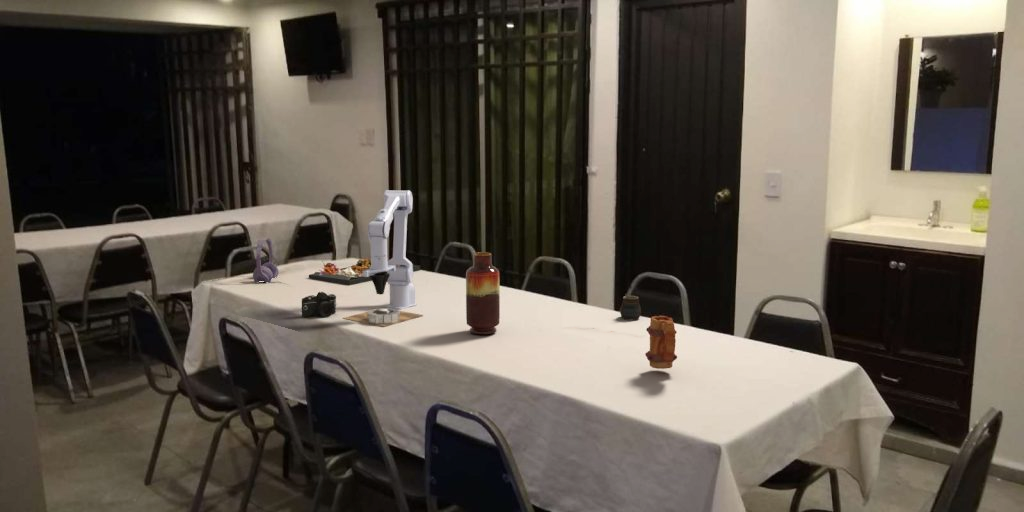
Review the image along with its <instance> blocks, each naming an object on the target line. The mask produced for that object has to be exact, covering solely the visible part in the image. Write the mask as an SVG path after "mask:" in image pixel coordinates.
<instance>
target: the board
mask: <svg viewBox="0 0 1024 512" xmlns="http://www.w3.org/2000/svg"><path fill="white" fill-rule="evenodd" d="M399 311H400V320H399V321H398V322H394V323H388V324H374V323H369V322H368V321H367V312H368V311H366V312H362V313H358V314H354V315H349V316H346V317H342V319H343V320H347V321H352V322H357V323H362V324H367V325H373V326H377V327H382V328H385V327H389V326H392V325H396V324H399V323H403V322H407V321H410V320H411V321H412V320H414V319H416V318H421V317H424V314H419V313H415V312H413V313H412V312H408V311H402V310H399Z"/></svg>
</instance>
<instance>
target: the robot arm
mask: <svg viewBox="0 0 1024 512" xmlns="http://www.w3.org/2000/svg"><path fill="white" fill-rule="evenodd" d="M382 200H383V201H382V202H383V205H384V206H383V207H382V208H381V209H379V210H378V212H377V214H376V216H375V217H374V220H372V221H370V222H369V223H368V225H367V229H366V232H367V236H368V242H369V243H370V244H369V245H370V246H369V247H370V259H371V267H370V269H367V270H364V271H363V276H364V277H369V276H370V278H371V280H372V281H371V282H372V283H373V286H374V288H375V292H376V295H384V292H385V289H386V285H389V304H386V305H384V307H385V308H392V309H397V310H403V309H407V308H411V307H416V306H417V305H418V304H417V303H416V289H415V286H414V284H413V283H412V281H413V279H414V272H413V265H414V264H413V263H412V261H410V260H409V259H408V258H407V256H406V255H407V254H406V252H407V231H408V227H407V226H408V217H409V216H408V215H409V214H411V213H412V212H413V200H414V198H413V193H412V191H411V190H409V189H408V190H399V189H398V190H396V189H395V190H390V189H389V190H388V189H386V190H385V191H384V193H383V197H382ZM393 220H394V221H393ZM392 222H393V223H394V225H393V242H392V243H393V245H392V246H393V247H392V248H393V249H392V257H391V259H388V238H389V235H390V230H391V224H392ZM388 260H389V261H388ZM412 264H413V265H412ZM396 265H405V266H406V267H405V266H396Z"/></svg>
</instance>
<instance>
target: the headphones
mask: <svg viewBox="0 0 1024 512" xmlns="http://www.w3.org/2000/svg"><path fill="white" fill-rule="evenodd" d="M265 242H266V245H267V247H268V251H269V254H268V256H269V259H268V260H269V261H268V262H264V263H263V264H262V262H261V253H262V249H263V246H264V244H265ZM273 250H274V249H273V242H272V239H271V238H270V237H260V238H258V240H257V243H256V252H255V253H256V254H255V255H256V260H255V262H256V267H255V268H254V269H253V273H252V278H253V281H254V283H255V282H259V281H264V282H268V283H270V282H271V281H272V280H273V279H272V278H275V277H276V278H277V277H278V276H279V268H278V267H277V265H276V264H275V263H274V251H273ZM276 278H275V279H276ZM271 279H272V280H271ZM269 281H270V282H269Z"/></svg>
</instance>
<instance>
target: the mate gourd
mask: <svg viewBox="0 0 1024 512" xmlns="http://www.w3.org/2000/svg"><path fill="white" fill-rule="evenodd" d="M624 295H625V296H623V297H622V303H621V306H620V310H619V311H620V312H619V314H620V315H621V316H620V317H621V318H622V319H623V318H624V320H627V319H636V320H639V319H640V318H641V313H642V310H641V305H640V301H639V299H640V298H639V296H636V295H628V294H627V293H624ZM638 318H639V319H638Z"/></svg>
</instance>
